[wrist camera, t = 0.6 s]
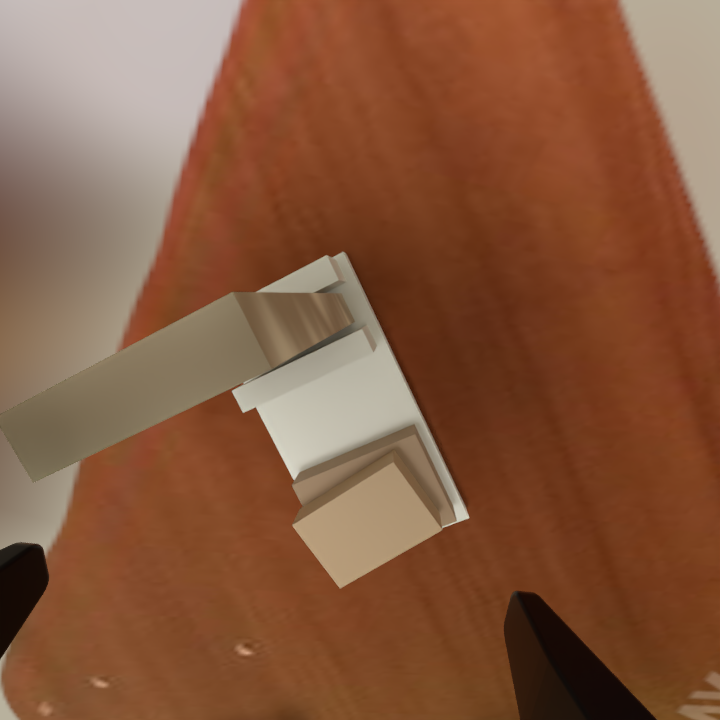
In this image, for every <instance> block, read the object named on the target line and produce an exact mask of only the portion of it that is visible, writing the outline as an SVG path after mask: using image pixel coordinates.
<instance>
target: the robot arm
mask: <svg viewBox="0 0 720 720" xmlns="http://www.w3.org/2000/svg"><path fill="white" fill-rule="evenodd" d="M48 581H49V573H48V569H47V564H46V559H45V555H44V550H43V548H42V547H41V546H40V545H39V544H32V543H22V542H21V543H15V544H12V545H10V546H8V547H6V548H3V549H1V550H0V659H1V657H2V656H3V654H4V653H5V651H6V650H7V648H8V647H9V645H10V644H11V642H12V641H13V639H14V638H15V636H16V634H17V633H18V631H19V630H20V628H21V627H22V625H23V624H24V622H25V621H26V619H27V618H28V616H29V615H30V613H31V612H32V610H33V608H34V607H35V605H36V604H37V602H38V601H39V599H40V598H41V596H42V595H43V593H44V591H45V590H46V587H47V585H48ZM504 636H505V642H506V647H507V652H508V658H509V663H510V668H511V673H512V679H513V684H514V689H515V694H516V700H517V705H518V710H519V715H520V720H657V719H656V718H655V717H654V716H653V715H652V714H651V713H650V712H649V711H648V710H647V709H646V708H645V707H644V706H643V705H642V703H641V702H640V701H639V700H638V699H637V698H636V697H635V696H634V695H633V694H632V693H631V692H630V691H629V690H628V689H627V688H626V687H625V686H624V685H623V684H622V682H621V681H620V680H619V679H618V678H617V677H616V676H615V675H614V674H613V673H612V672H611V671H610V670H609V669H608V668H607V667H606V666H605V665H604V664H603V662H602V661H601V660H600V659H599V658H598V657H597V656H596V655H595V654H594V653H593V652H592V651H591V650H590V649H589V648H588V647H587V646H586V645H585V644H584V643H583V641H582V640H581V639H580V638H579V637H578V636H577V635H576V634H575V633H574V632H573V631H572V630H571V629H570V628H569V627H568V626H567V625H566V624H565V623H564V621H563V620H562V619H561V618H560V617H559V616H558V615H557V614H556V613H555V612H554V611H553V610H552V609H551V608H550V607H549V606H548V605H547V604H546V603H545V602H544V600H543V599H542V598H541V597H540V596H538V595H537V594H536V593H533V592H523V591H514V592H513V593H512V595H511V598H510V602H509V606H508V610H507V614H506V618H505V622H504Z"/></svg>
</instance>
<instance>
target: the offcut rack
mask: <svg viewBox="0 0 720 720" xmlns="http://www.w3.org/2000/svg"><path fill="white" fill-rule="evenodd" d="M257 292H281V293H342V295H343V298H344V300H345V302H346V304H347V306H348V308H349V310H350V312H351V314H352V316H353V318H354V321H355V322H354V323H352V324H350V325H348V326H347V327H345V328H343V329H341V330H340V331H338V332H336V333H334V334H333V335H331V336H329V337H327V338H326V339H324V340H322V341H320V342H318V343H317V344H315V345H313V346H311V347H310V348H308V349H306V350H304V351H303V352H301V353H299V354H297V355H296V356H294V357H292V358H290V359H288V360H287V361H285V362H283V363H281V364H280V365H278V366H276V367H274V368H273V369H271V370H269V371H266V372H264V373H262V374H260V375H258V376H256V377H254V378H252V379H250V380H248V381H245V382H243V383H244V384H243V385H241V386H239V387H238V388H236V389H234V390H232V393H233V395H234V397H235V398H236V400H237V402H238V404H239V406H240V408H241V410H242V412H243V413H244V412H246V411H248V410H251V409H253V408H255V407H256V408H257V410H258V412H259V414H260V416H261V418H262V420H263V422H264V424H265V426H266V428H267V430H268V432H269V433H270V435H271V437H272V439H273V441H274V443H275V445H276V447H277V449H278V451H279V453H280V455H281V457H282V458H283V460H284V462H285V464H286V466H287V468H288V470H289V472H290V474H291V476H292V478H293V480H294V482H293V484H292V487H293V489H294V491H295V493H296V494H297V496H298V498H299V500H300V502H301V504H302V506H303V507H302V508H301V509H300V510H299V512H298V514H297V516H296V518H295V520H294V522H293V524H292V526H293V527H294V529H295V530H296V531H297V533H298V534H299V535H300V537H301V538H302V539H303V541H304V542H305V543H306V544H307V546H308V547H309V548H310V550H311V551H312V552H313V554H314V555H315V556H316V558H317V559H318V560H319V562H320V563H321V564H322V565H323V567H324V568H325V569H326V571H327V572H328V573H329V575H330V576H331V577H332V579H333V580H334V581H335V583H336V584H337V585H338V587H339V588H342V587H344V586H345V585H347V584H349V583H351V582H352V581H354V580H356V579H358V578H359V577H361V576H363V575H365V574H366V573H368V572H370V571H372V570H373V569H375V568H377V567H379V566H380V565H382V564H384V563H386V562H387V561H389V560H391V559H393V558H394V557H396V556H398V555H400V554H401V553H403V552H405V551H407V550H408V549H410V548H412V547H414V546H415V545H417V544H419V543H421V542H422V541H424V540H426V539H428V538H429V537H431V536H433V535H435V534H436V533H438V532H440V531H442V528H444V527H446V526H449V525H452V524H454V523H457V522H460V521H463V520H465V519H468V518H469V515H468V512H467V508H466V506H465V504H464V502H463V500H462V498H461V496H460V493H459V491H458V489H457V487H456V485H455V483H454V481H453V479H452V476H451V474H450V472H449V470H448V468H447V466H446V464H445V462H444V460H443V457H442V455H441V453H440V451H439V449H438V447H437V445H436V443H435V440H434V438H433V436H432V434H431V432H430V430H429V428H428V426H427V424H426V421H425V419H424V417H423V415H422V413H421V411H420V409H419V407H418V404H417V402H416V400H415V398H414V396H413V394H412V392H411V390H410V387H409V385H408V383H407V381H406V379H405V377H404V375H403V373H402V371H401V368H400V366H399V364H398V362H397V360H396V358H395V356H394V354H393V351H392V349H391V347H390V345H389V343H388V341H387V339H386V337H385V335H384V332H383V330H382V328H381V326H380V324H379V322H378V320H377V318H376V315H375V313H374V311H373V309H372V307H371V305H370V303H369V301H368V299H367V296H366V294H365V292H364V290H363V288H362V286H361V284H360V282H359V279H358V277H357V275H356V273H355V271H354V269H353V267H352V265H351V262H350V260H349V258H348V256H347V254H346V253H345V252H342V253H340V254H338V255H336V256H334V257H330V256H328V255H326V256H324V257H322V258H320V259H318V260H316V261H314V262H313V263H311V264H309V265H307V266H305V267H303V268H301V269H299V270H297V271H295V272H293V273H291V274H289V275H287V276H286V277H284V278H282V279H280V280H278V281H276V282H274V283H272V284H270V285H268V286H266V287H264V288H262V289H261V290H259V291H257Z"/></svg>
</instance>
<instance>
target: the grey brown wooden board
mask: <svg viewBox="0 0 720 720" xmlns="http://www.w3.org/2000/svg"><path fill="white" fill-rule="evenodd" d="M354 322H355V321H354V318H353V316H352V314H351V312H350V310H349V308H348V306H347V304H346V302H345V300H344V298H343V295H342V293H281V292H231V293H229V294H228V295H226V296H224V297H222V298H220V299H218V300H216V301H214V302H212V303H210V304H209V305H207V306H205V307H203V308H201V309H199V310H197V311H195V312H193V313H191V314H190V315H188V316H186V317H184V318H182V319H180V320H178V321H176V322H174V323H172V324H171V325H169V326H167V327H165V328H163V329H161V330H159V331H157V332H155V333H153V334H152V335H150V336H148V337H146V338H144V339H142V340H140V341H138V342H136V343H134V344H133V345H131V346H129V347H127V348H125V349H123V350H121V351H119V352H117V353H115V354H113V355H112V356H110V357H108V358H106V359H104V360H102V361H100V362H99V363H96V364H95V365H93V366H91V367H89V368H87V369H85V370H83V371H81V372H79V373H77V374H75V375H74V376H72V377H70V378H68V379H66V380H64V381H62V382H60V383H58V384H56V385H55V386H53V387H51V388H49V389H47V390H45V391H43V392H41V393H39V394H37V395H36V396H34V397H32V398H30V399H28V400H26V401H24V402H23V403H20V404H18V405H17V406H15V407H13V408H11V409H9V410H7V411H5V412H3V413H1V414H0V428H1V430H2V431H3V433H4V435H5V437H6V438H7V440H8V441H9V443H10V445H11V446H12V448H13V450H14V452H15V453H16V455H17V457H18V458H19V460H20V462H21V463H22V465H23V467H24V468H25V470H26V472H27V473H28V475H29V477H30V478H31V480H32V482H33V483H34V482H36V481H38V480H40V479H42V478H44V477H46V476H48V475H50V474H53V473H55V472H56V471H59V470H61V469H63V468H65V467H67V466H69V465H71V464H74V463H76V462H78V461H80V460H82V459H84V458H86V457H88V456H90V455H92V454H95V453H97V452H99V451H101V450H103V449H105V448H107V447H109V446H111V445H113V444H115V443H118V442H120V441H122V440H124V439H126V438H128V437H130V436H132V435H134V434H136V433H139V432H141V431H143V430H145V429H147V428H149V427H151V426H153V425H155V424H157V423H160V422H162V421H164V420H166V419H168V418H170V417H172V416H174V415H176V414H178V413H180V412H183V411H185V410H187V409H189V408H191V407H193V406H195V405H197V404H199V403H201V402H204V401H206V400H208V399H210V398H212V397H214V396H216V395H218V394H220V393H222V392H225V391H227V390H229V389H231V388H233V387H235V386H237V385H239V384H241V383H243V382H245V381H248V380H250V379H252V378H254V377H256V376H258V375H260V374H262V373H264V372H266V371H269V370H271V369H273V368H274V367H276V366H278V365H280V364H281V363H283V362H285V361H287V360H288V359H290V358H292V357H294V356H296V355H297V354H299V353H301V352H303V351H304V350H306V349H308V348H310V347H311V346H313V345H315V344H317V343H318V342H320V341H322V340H324V339H326V338H327V337H329V336H331V335H333V334H334V333H336V332H338V331H340V330H341V329H343V328H345V327H347V326H348V325H350V324H352V323H354Z"/></svg>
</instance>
